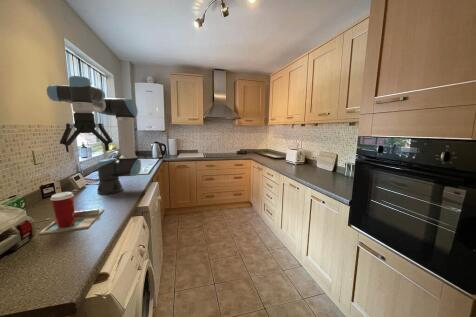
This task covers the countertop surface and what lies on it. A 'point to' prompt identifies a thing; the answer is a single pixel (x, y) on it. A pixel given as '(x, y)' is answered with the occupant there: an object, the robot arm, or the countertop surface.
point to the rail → (85, 213)
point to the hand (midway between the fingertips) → (89, 158)
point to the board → (79, 224)
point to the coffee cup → (63, 209)
